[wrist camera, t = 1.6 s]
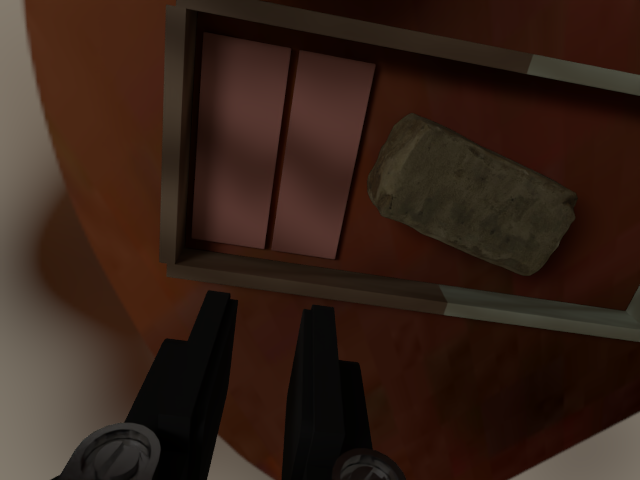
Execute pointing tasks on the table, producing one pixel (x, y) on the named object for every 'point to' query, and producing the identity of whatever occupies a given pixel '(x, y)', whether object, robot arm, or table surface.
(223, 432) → the table surface
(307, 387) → the robot arm
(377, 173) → the stone block
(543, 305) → the frame
